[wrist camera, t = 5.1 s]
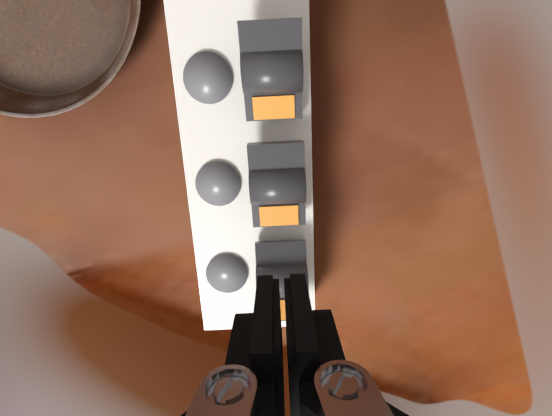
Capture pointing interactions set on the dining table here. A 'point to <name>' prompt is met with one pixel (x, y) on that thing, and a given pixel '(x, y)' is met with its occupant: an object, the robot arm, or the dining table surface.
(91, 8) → the plant saucer
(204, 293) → the power strip
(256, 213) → the switch middle
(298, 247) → the switch
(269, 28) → the switch
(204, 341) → the dining table surface
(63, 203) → the dining table surface
